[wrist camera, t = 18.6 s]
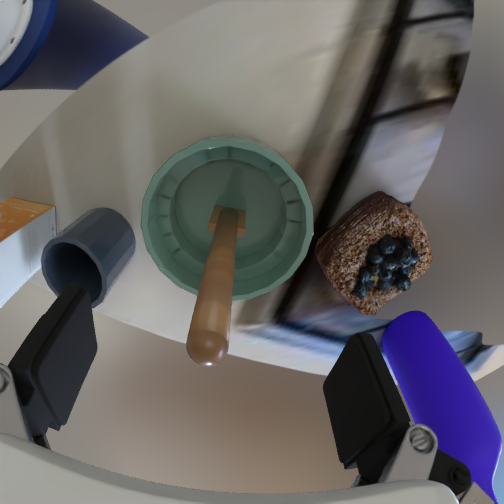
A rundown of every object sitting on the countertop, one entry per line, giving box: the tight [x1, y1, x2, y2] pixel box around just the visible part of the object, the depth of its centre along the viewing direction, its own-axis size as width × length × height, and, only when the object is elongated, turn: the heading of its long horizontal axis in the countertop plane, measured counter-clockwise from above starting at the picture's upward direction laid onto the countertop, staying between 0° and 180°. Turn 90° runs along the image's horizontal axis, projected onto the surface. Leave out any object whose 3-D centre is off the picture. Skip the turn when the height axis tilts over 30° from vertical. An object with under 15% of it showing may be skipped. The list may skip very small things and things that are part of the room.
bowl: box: [141, 135, 313, 301], centre depth 26 cm, size 14×14×6 cm
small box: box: [0, 197, 56, 308], centre depth 23 cm, size 8×6×13 cm
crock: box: [41, 208, 135, 308], centre depth 26 cm, size 7×7×8 cm
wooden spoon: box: [186, 205, 246, 366], centre depth 20 cm, size 2×3×19 cm, turn 77°
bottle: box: [382, 311, 502, 504], centre depth 23 cm, size 8×8×30 cm
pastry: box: [314, 191, 433, 315], centre depth 28 cm, size 11×12×6 cm
